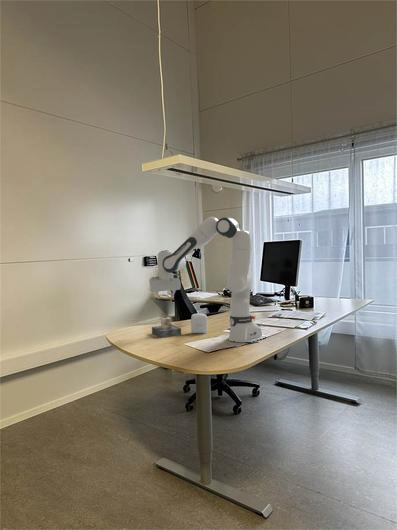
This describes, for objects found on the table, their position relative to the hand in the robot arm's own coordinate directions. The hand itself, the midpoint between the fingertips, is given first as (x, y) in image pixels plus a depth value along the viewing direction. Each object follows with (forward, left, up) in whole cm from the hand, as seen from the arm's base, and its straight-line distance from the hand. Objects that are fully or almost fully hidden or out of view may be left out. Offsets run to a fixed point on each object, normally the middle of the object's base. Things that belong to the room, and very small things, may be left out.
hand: (165, 297), depth 224 cm
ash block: (0, 0, -19) cm, 19 cm away
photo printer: (-19, +9, -23) cm, 31 cm away
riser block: (0, 0, -23) cm, 23 cm away
